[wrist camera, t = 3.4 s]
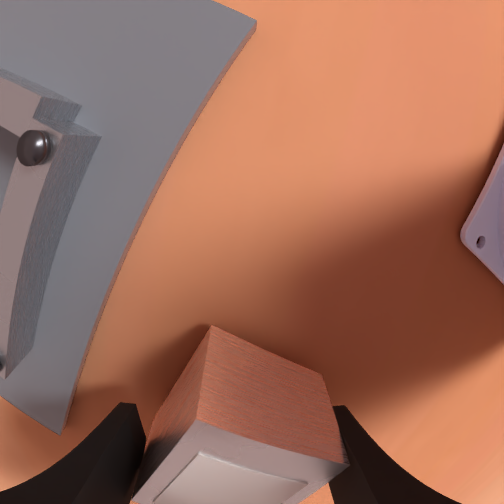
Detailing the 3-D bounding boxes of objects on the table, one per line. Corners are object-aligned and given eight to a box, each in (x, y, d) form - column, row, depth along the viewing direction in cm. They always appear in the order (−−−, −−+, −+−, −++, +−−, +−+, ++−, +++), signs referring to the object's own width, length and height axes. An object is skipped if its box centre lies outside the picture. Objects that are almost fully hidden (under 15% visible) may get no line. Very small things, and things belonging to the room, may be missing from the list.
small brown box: (321, 374, 11) (350, 466, 7) (247, 453, 13) (249, 534, 9) (211, 324, 11) (195, 421, 6) (153, 418, 12) (130, 501, 8)
